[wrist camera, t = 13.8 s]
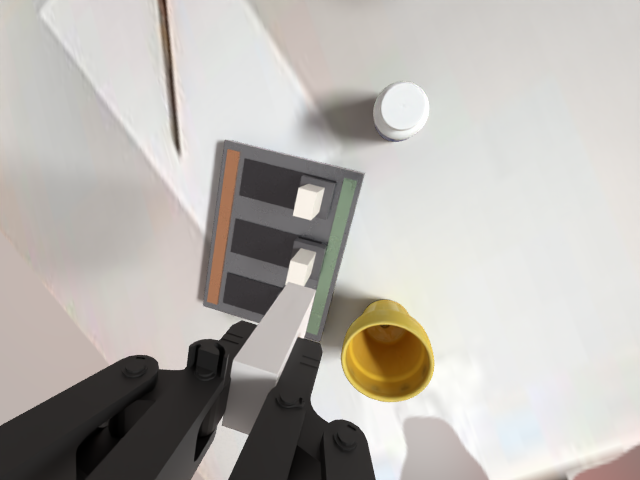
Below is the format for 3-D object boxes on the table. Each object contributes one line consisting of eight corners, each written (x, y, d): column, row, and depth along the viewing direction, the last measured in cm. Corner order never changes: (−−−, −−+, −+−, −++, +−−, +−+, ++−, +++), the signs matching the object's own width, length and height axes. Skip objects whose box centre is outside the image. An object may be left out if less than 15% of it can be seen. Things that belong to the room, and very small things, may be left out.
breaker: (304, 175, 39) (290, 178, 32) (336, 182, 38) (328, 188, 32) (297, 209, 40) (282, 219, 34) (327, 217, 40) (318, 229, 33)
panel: (231, 140, 42) (224, 139, 40) (364, 173, 40) (364, 174, 38) (209, 299, 49) (202, 306, 46) (322, 334, 47) (319, 342, 45)
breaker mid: (297, 237, 41) (283, 252, 35) (327, 245, 40) (317, 262, 34) (290, 268, 42) (275, 287, 36) (319, 276, 42) (309, 297, 35)
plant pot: (334, 306, 45) (323, 346, 36) (398, 273, 42) (404, 306, 33) (372, 363, 46) (370, 415, 37) (437, 334, 44) (453, 383, 34)
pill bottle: (367, 106, 38) (364, 90, 28) (411, 85, 36) (422, 61, 27) (383, 149, 39) (384, 147, 29) (426, 131, 37) (442, 122, 28)
